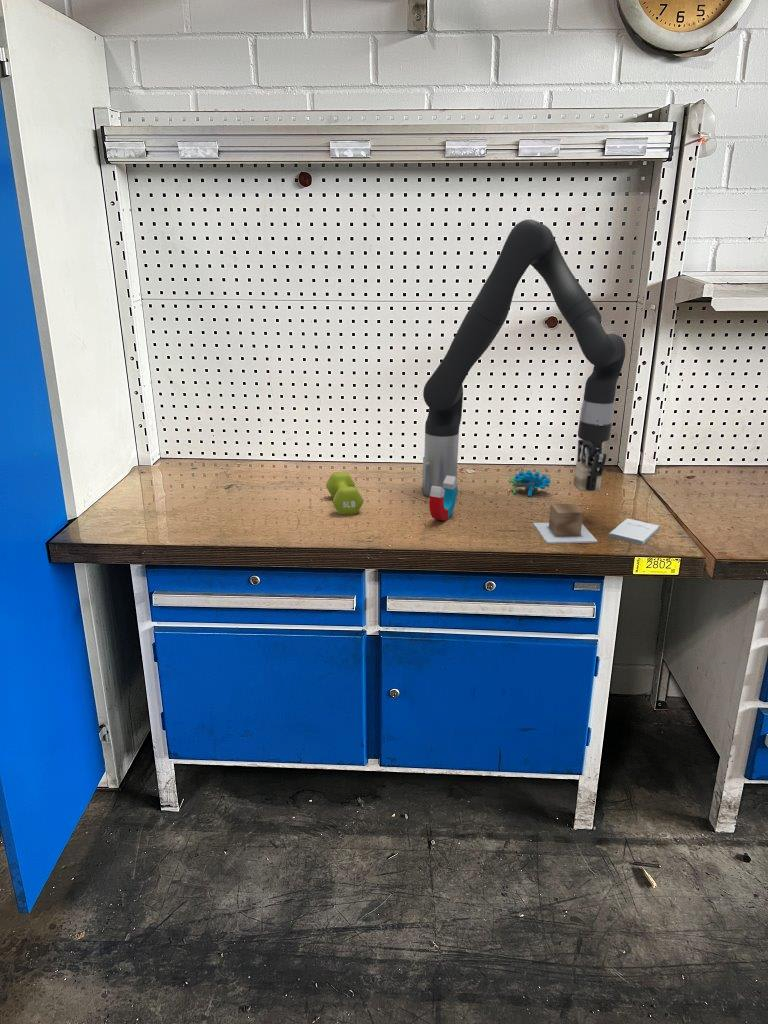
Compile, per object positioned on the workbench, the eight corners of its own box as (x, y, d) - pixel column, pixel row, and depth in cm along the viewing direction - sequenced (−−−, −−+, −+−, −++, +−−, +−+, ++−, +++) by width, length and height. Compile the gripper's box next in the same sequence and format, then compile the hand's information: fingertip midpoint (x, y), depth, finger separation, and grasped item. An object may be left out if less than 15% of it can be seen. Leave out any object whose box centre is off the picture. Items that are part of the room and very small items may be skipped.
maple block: (579, 491, 171) (582, 468, 168) (573, 484, 175) (576, 461, 173) (599, 491, 171) (603, 468, 169) (592, 484, 176) (596, 462, 173)
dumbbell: (325, 496, 191) (325, 471, 189) (354, 494, 193) (354, 470, 190) (333, 517, 176) (332, 490, 174) (364, 515, 178) (364, 489, 175)
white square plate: (546, 543, 161) (547, 541, 161) (533, 524, 172) (533, 522, 172) (597, 542, 162) (597, 541, 162) (580, 523, 173) (580, 522, 173)
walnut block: (555, 536, 164) (558, 512, 162) (548, 527, 170) (550, 504, 168) (580, 536, 165) (583, 512, 162) (572, 526, 170) (575, 503, 168)
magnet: (446, 510, 181) (448, 474, 178) (456, 512, 180) (458, 475, 177) (428, 525, 172) (429, 487, 168) (438, 527, 170) (440, 488, 167)
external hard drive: (607, 538, 166) (625, 523, 175) (642, 547, 161) (658, 531, 170) (608, 532, 165) (626, 517, 174) (643, 541, 161) (659, 525, 170)
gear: (554, 485, 196) (546, 468, 188) (551, 504, 193) (543, 487, 185) (515, 485, 201) (507, 468, 193) (512, 503, 198) (503, 486, 190)
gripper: (571, 412, 173) (563, 477, 179) (590, 426, 160) (580, 496, 166) (600, 412, 174) (591, 477, 180) (622, 427, 160) (611, 496, 166)
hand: (586, 486), depth 173 cm, fingers closed on maple block, 5 cm apart
